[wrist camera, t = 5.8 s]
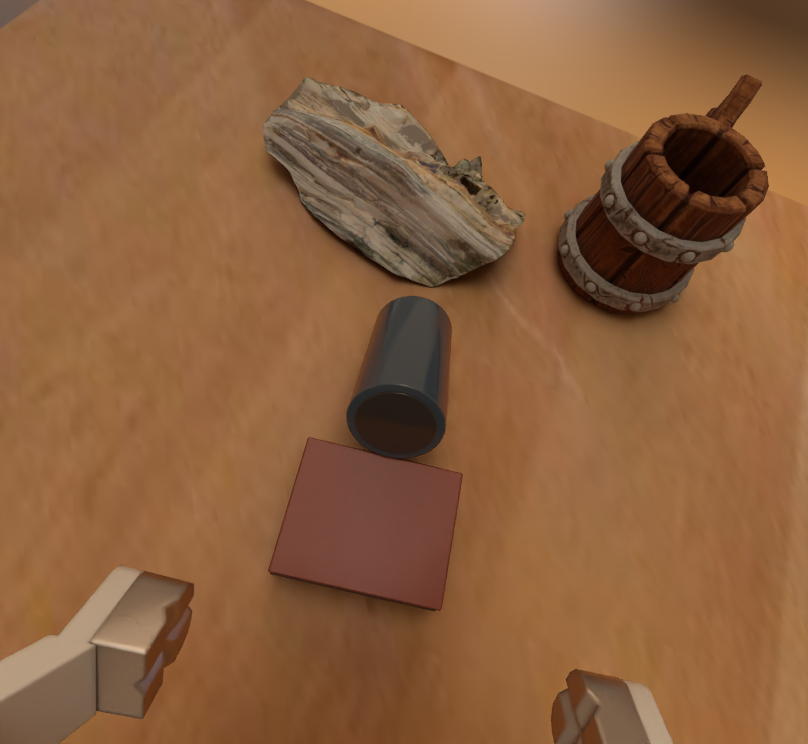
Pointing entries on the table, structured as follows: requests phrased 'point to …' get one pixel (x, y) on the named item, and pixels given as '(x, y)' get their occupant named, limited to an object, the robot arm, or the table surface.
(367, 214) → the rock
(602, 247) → the mug
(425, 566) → the notebooks
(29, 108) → the table surface
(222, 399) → the table surface
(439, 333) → the cup
